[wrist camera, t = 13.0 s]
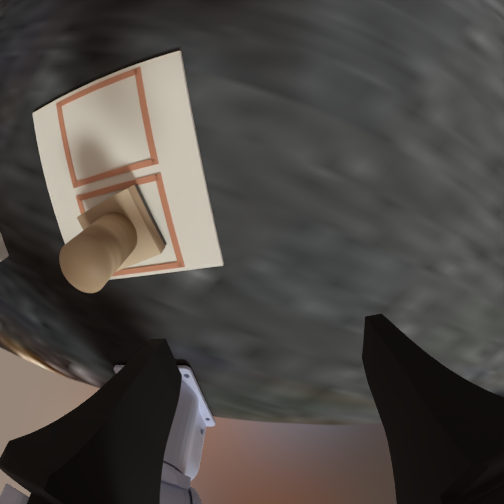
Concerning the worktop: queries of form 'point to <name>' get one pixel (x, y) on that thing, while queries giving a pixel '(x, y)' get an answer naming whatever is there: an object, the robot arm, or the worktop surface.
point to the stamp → (111, 240)
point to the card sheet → (132, 159)
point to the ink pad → (2, 249)
